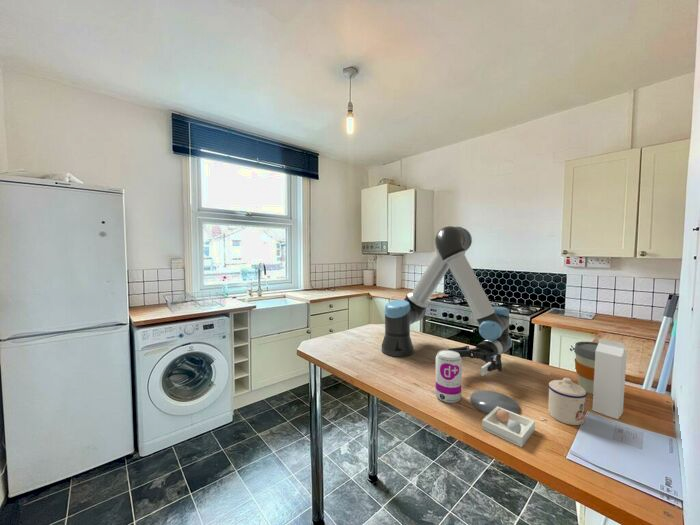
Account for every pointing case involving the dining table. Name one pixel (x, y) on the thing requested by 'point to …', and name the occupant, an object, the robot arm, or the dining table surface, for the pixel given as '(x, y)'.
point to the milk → (609, 378)
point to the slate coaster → (493, 401)
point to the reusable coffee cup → (585, 364)
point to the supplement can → (448, 376)
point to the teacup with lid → (566, 401)
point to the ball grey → (514, 426)
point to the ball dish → (501, 428)
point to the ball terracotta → (503, 415)
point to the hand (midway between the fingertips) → (462, 365)
